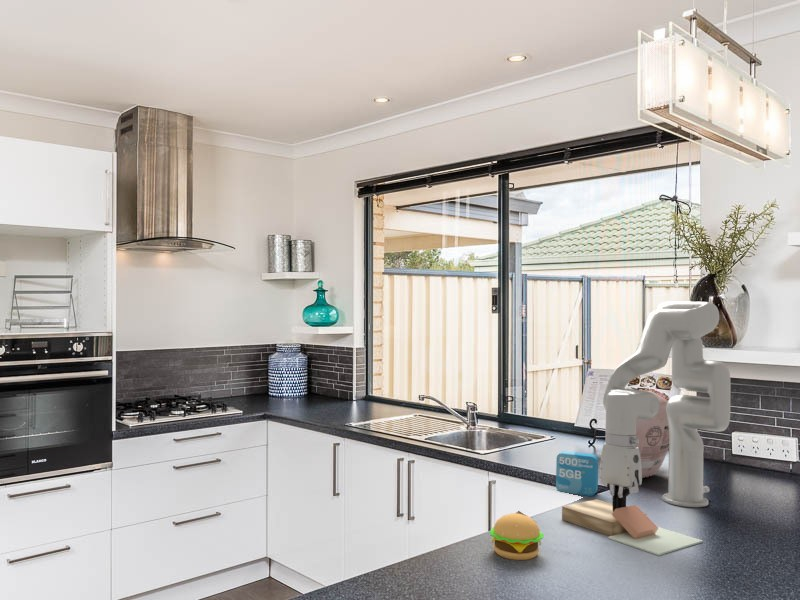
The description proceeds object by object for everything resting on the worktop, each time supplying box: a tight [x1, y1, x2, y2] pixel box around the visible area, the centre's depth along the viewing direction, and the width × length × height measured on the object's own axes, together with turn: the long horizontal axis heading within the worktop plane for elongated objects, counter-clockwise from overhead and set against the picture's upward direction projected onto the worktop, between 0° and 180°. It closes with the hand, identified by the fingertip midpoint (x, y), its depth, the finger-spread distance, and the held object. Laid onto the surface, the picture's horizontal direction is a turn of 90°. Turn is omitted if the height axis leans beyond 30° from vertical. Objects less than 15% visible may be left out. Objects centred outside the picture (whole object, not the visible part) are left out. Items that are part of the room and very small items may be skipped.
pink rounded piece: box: [636, 390, 669, 479], centre depth 233 cm, size 22×20×30 cm
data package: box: [555, 450, 599, 497], centre depth 212 cm, size 12×4×12 cm, turn 65°
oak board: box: [561, 499, 647, 537], centre depth 181 cm, size 14×16×4 cm
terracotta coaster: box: [612, 504, 659, 539], centre depth 172 cm, size 8×8×2 cm
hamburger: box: [489, 512, 544, 561], centre depth 157 cm, size 12×12×9 cm
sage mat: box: [607, 526, 704, 557], centre depth 168 cm, size 18×14×1 cm
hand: (619, 511), depth 177 cm, fingers closed
